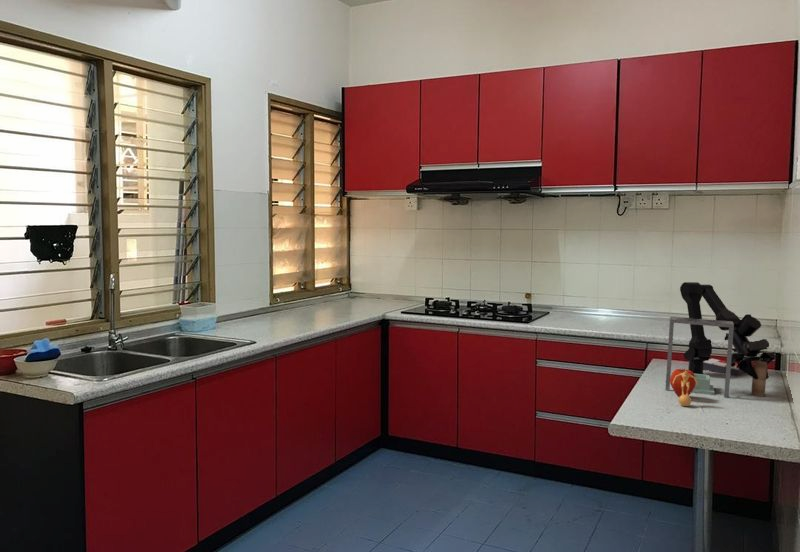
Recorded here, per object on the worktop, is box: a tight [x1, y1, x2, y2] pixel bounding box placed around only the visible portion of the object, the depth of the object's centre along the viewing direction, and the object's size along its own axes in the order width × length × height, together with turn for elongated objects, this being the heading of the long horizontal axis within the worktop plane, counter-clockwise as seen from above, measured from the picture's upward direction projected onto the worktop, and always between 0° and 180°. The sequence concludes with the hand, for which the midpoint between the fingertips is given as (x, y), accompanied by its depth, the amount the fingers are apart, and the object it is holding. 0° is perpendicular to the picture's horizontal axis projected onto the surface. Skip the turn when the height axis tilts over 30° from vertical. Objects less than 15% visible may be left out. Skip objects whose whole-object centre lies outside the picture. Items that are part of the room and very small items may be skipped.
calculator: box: [703, 358, 746, 377], centre depth 278 cm, size 11×4×15 cm
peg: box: [750, 361, 768, 398], centre depth 238 cm, size 4×4×12 cm
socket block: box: [691, 374, 715, 396], centre depth 245 cm, size 12×12×5 cm
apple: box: [670, 368, 696, 398], centre depth 231 cm, size 9×8×11 cm
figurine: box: [672, 371, 698, 407], centre depth 222 cm, size 8×6×12 cm
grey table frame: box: [665, 316, 734, 399], centre depth 240 cm, size 8×21×27 cm, turn 66°
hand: (762, 378), depth 237 cm, fingers closed on peg, 4 cm apart
